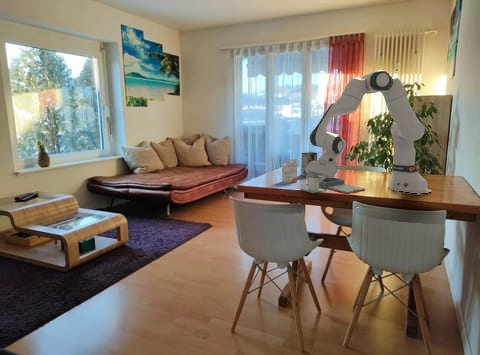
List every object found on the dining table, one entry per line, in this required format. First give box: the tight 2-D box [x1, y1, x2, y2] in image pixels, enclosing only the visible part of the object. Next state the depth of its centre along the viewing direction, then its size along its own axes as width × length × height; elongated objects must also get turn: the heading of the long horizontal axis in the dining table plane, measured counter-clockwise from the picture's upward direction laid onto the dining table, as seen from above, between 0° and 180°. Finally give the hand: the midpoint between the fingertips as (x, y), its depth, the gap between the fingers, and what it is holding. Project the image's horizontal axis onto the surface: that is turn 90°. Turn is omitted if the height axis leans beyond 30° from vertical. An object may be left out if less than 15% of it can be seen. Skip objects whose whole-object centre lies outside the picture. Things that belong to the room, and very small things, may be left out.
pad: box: [300, 187, 327, 194], centre depth 192 cm, size 10×10×1 cm
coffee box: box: [300, 151, 318, 177], centre depth 236 cm, size 9×6×16 cm
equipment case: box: [319, 176, 366, 194], centre depth 200 cm, size 30×15×4 cm, turn 32°
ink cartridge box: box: [281, 158, 298, 184], centre depth 214 cm, size 9×5×15 cm, turn 112°
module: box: [307, 175, 321, 191], centre depth 191 cm, size 4×4×8 cm
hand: (313, 180), depth 190 cm, fingers open, 8 cm apart
